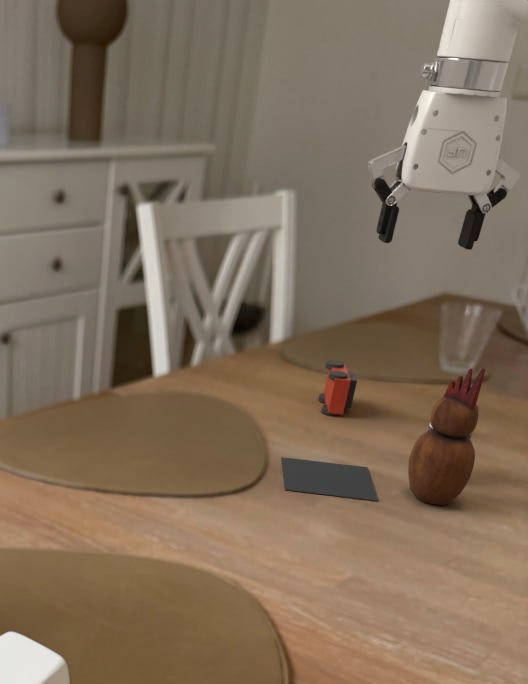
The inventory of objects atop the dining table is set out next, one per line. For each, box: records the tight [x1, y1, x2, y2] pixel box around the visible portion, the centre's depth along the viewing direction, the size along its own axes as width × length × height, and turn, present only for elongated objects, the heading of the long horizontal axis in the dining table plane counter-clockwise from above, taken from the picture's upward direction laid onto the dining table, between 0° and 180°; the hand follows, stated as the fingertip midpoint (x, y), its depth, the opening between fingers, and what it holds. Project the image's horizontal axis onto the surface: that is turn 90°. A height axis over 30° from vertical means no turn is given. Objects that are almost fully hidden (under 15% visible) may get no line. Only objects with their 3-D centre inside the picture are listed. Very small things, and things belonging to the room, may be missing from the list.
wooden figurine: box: [407, 368, 486, 506], centre depth 104 cm, size 7×6×15 cm
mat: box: [281, 456, 379, 502], centre depth 111 cm, size 10×10×1 cm
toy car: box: [318, 359, 358, 417], centre depth 132 cm, size 8×4×5 cm, turn 171°
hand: (424, 244), depth 116 cm, fingers open, 9 cm apart
